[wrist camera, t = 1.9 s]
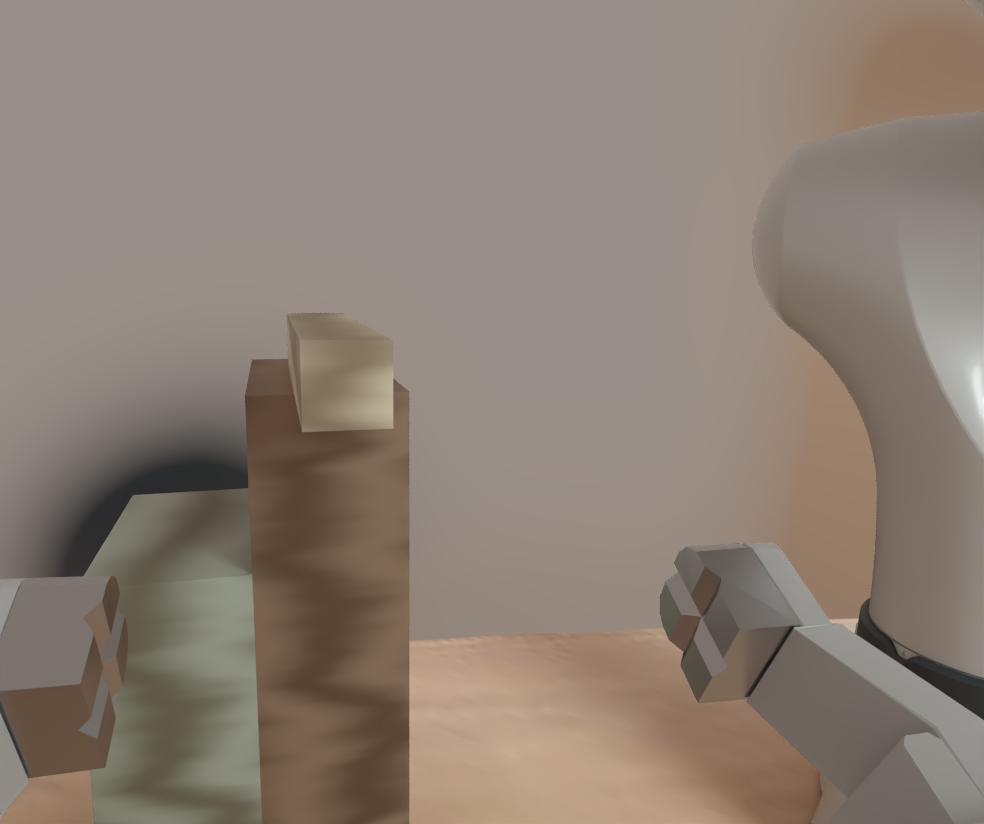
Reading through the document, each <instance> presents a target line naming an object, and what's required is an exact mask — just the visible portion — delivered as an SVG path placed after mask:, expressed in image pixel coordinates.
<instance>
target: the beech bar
mask: <svg viewBox="0 0 984 824" xmlns="http://www.w3.org/2000/svg"><path fill="white" fill-rule="evenodd" d="M287 340H288V368H289V373H290V378H291V382H292V387H293V392H294V396H295V401H296V406H297V410H298V415H299V420H300V424H301V429H302V432H319V431H345V430H371V429H393V340H392V339H390V338H388V337H386V336H384V335H382V334H381V333H379V332H377V331H375V330H373V329H371V328H369V327H367V326H365V325H363V324H361V323H359V322H358V321H356V320H354V319H352V318H350V317H348V316H346V315H344V314H343V313H287Z"/></svg>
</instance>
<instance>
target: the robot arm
mask: <svg viewBox="0 0 984 824" xmlns="http://www.w3.org/2000/svg"><path fill="white" fill-rule="evenodd" d="M964 1H965V2H966V3H967V4H968V6H970V7H971V8H972V9H973V10H975V11H976V12H977V13H978V14H980V15H982V16H983V17H984V0H964ZM752 254H753V263H754V269H755V273H756V276H757V280H758V283H759V285H760V287H761V290H762V292H763V294H764V296H765V298H766V300H767V301H768V303H769V305H770V306H771V308H772V309H773V310H774V312H775V313H776V314H777V316H778V317H779V318H780V319H781V320H782V321H783V322H784V323H785V324H786V325H787V326H788V327H790V328H791V329H792V330H793V331H795V332H796V333H798V334H799V335H800V336H801V337H802V338H804V339H805V340H806V341H807V342H808V343H809V344H810V345H811V346H812V347H813V348H814V349H816V350H817V351H818V352H819V353H820V355H822V357H823V358H824V359H825V360H826V361H827V362H828V364H829V365H830V366H831V367H832V368H833V369H834V371H835V372H836V374H837V375H838V377H839V378H840V379H841V381H842V382H843V384H844V385H845V387H846V388H847V390H848V392H849V394H850V395H851V397H852V399H853V400H854V402H855V404H856V406H857V408H858V410H859V413H860V415H861V417H862V419H863V422H864V425H865V427H866V430H867V433H868V436H869V440H870V444H871V448H872V452H873V457H874V463H875V471H876V482H877V512H876V513H877V514H876V540H875V554H874V569H873V578H872V588H871V596H870V598H869V599H868V600H866V601H865V602H864V603H863V605H862V606H861V609H860V615H859V621H858V623H857V624H856V629H855V633H853V632H852V631H850V630H849V629H847V628H846V627H844V626H843V625H841V624H831V622H830V621H829V619H828V618H827V616H826V615H825V613H824V612H823V610H822V609H821V607H820V606H819V604H818V603H817V601H816V600H815V598H814V597H813V596H812V594H811V593H810V591H809V590H808V588H807V587H806V585H805V584H804V582H803V581H802V579H801V578H800V577H799V575H798V573H797V572H796V570H795V569H794V568H793V566H792V565H791V563H790V562H789V560H788V559H787V557H786V556H785V554H784V553H783V551H782V550H781V549H780V548H779V547H778V546H777V545H776V544H774V543H772V542H766V543H747V544H739V543H736V544H721V545H705V546H689V547H685V548H684V549H683V550H681V551H680V552H679V554H678V556H677V558H676V560H675V562H674V564H675V566H676V568H677V570H678V573H676V574H675V575H674V576H673V577H671V578H670V579H669V580H667V581H666V582H665V585H664V587H663V590H662V593H661V595H660V615H661V619H662V624H663V627H664V629H665V632H666V634H667V636H668V639H669V640H670V641H671V642H672V643H673V644H675V645H676V646H677V647H678V648H680V649H681V650H682V651H683V652H684V653H683V657H682V661H681V667H682V669H683V671H684V674H685V676H686V678H687V680H688V682H689V684H690V687H691V689H692V691H693V693H694V695H695V697H696V699H697V702H698V703H703V702H716V701H729V700H741V699H748V700H747V703H748V704H749V705H750V706H751V707H753V708H754V709H755V710H756V711H757V712H758V713H759V714H760V715H761V716H762V717H763V718H764V719H765V720H766V721H767V722H768V723H769V724H770V725H771V726H772V727H774V728H775V729H776V730H777V731H778V732H779V733H780V734H781V735H782V736H783V737H784V738H785V739H786V740H787V741H788V742H789V743H790V744H791V745H792V746H793V747H795V748H796V749H797V750H798V751H799V752H800V753H801V754H802V755H803V756H804V757H805V758H806V759H807V760H808V761H809V762H810V763H811V764H812V765H813V766H814V767H816V768H817V769H818V770H819V771H820V774H819V780H820V786H821V791H822V796H821V799H820V802H819V804H818V807H817V809H816V811H815V814H814V816H813V818H812V821H811V824H984V112H970V113H958V114H945V115H933V116H921V117H907V118H901V119H897V120H893V121H889V122H884V123H881V124H876V125H872V126H868V127H864V128H860V129H856V130H852V131H848V132H845V133H842V134H838V135H834V136H831V137H828V138H824V139H820V140H817V141H813V142H810V143H806V144H804V145H802V146H801V147H800V148H799V149H798V150H797V151H796V152H795V153H793V154H792V155H791V156H790V157H789V159H788V160H787V161H786V162H785V163H784V164H783V166H782V167H781V168H780V169H779V171H778V172H777V173H776V175H775V176H774V178H773V179H772V181H771V183H770V185H769V186H768V188H767V190H766V192H765V194H764V196H763V199H762V201H761V203H760V206H759V209H758V212H757V215H756V220H755V224H754V229H753V239H752ZM119 596H120V591H119V587H118V583H117V579H116V577H115V576H89V577H51V578H25V579H0V817H1V816H2V815H3V814H4V813H5V811H6V810H7V809H8V808H9V807H10V805H11V804H12V803H13V802H14V801H15V799H16V798H17V797H18V796H19V795H20V793H21V792H22V791H23V790H24V788H25V787H26V786H27V785H28V784H29V779H28V778H33V777H40V776H48V775H55V774H63V773H70V772H78V771H85V770H92V769H100V768H105V767H106V762H107V758H108V753H109V748H110V744H111V739H112V734H113V730H114V725H115V720H116V716H115V712H114V708H113V704H112V700H111V698H112V697H113V696H114V695H115V694H116V693H117V692H118V690H119V689H120V688H121V687H122V686H123V682H124V676H125V671H126V666H127V653H128V631H127V623H126V618H125V615H124V614H122V613H121V612H119V611H118V610H117V605H118V601H119Z"/></svg>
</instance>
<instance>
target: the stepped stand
mask: <svg viewBox="0 0 984 824" xmlns="http://www.w3.org/2000/svg"><path fill="white" fill-rule="evenodd" d="M245 403H246V404H245V405H246V428H247V429H246V431H247V454H248V481H249V489H232V490H216V491H198V492H181V493H166V494H165V493H164V494H147V495H133V497H132V498H131V500H130V501H129V503H128V505H127V506H126V508H125V510H124V511H123V513H122V514H121V516H120V518H119V519H118V521H117V523H116V524H115V526H114V528H113V529H112V531H111V532H110V534H109V536H108V537H107V539H106V541H105V542H104V544H103V545H102V547H101V549H100V551H99V552H98V554H97V555H96V557H95V559H94V560H93V562H92V564H91V565H90V567H89V568H88V570H87V572H86V573H85V575H84V576H83V577H89V576H115V577H116V579H117V583H118V587H119V591H120V596H119V601H118V605H117V610H118V611H119V612H121V613H122V614H124V615H125V618H126V623H127V631H128V653H127V666H126V671H125V676H124V682H123V686H122V687H121V688H120V689H119V690H118V692H117V693H116V694H115V695H114V696H113V697H112V698H111V700H112V704H113V708H114V712H115V716H116V720H115V725H114V730H113V734H112V739H111V744H110V748H109V753H108V758H107V762H106V767H105V768H100V769H92V770H90V775H91V787H92V798H93V810H94V822H95V824H409V391H408V390H406V389H405V388H404V387H403V386H402V385H401V384H399V383H398V382H397V381H396V380H394V379H393V429H371V430H345V431H319V432H302V429H301V424H300V420H299V415H298V410H297V406H296V401H295V396H294V392H293V387H292V382H291V378H290V373H289V368H288V359H268V360H267V359H266V360H252V363H251V368H250V373H249V378H248V384H247V389H246V394H245Z"/></svg>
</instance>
